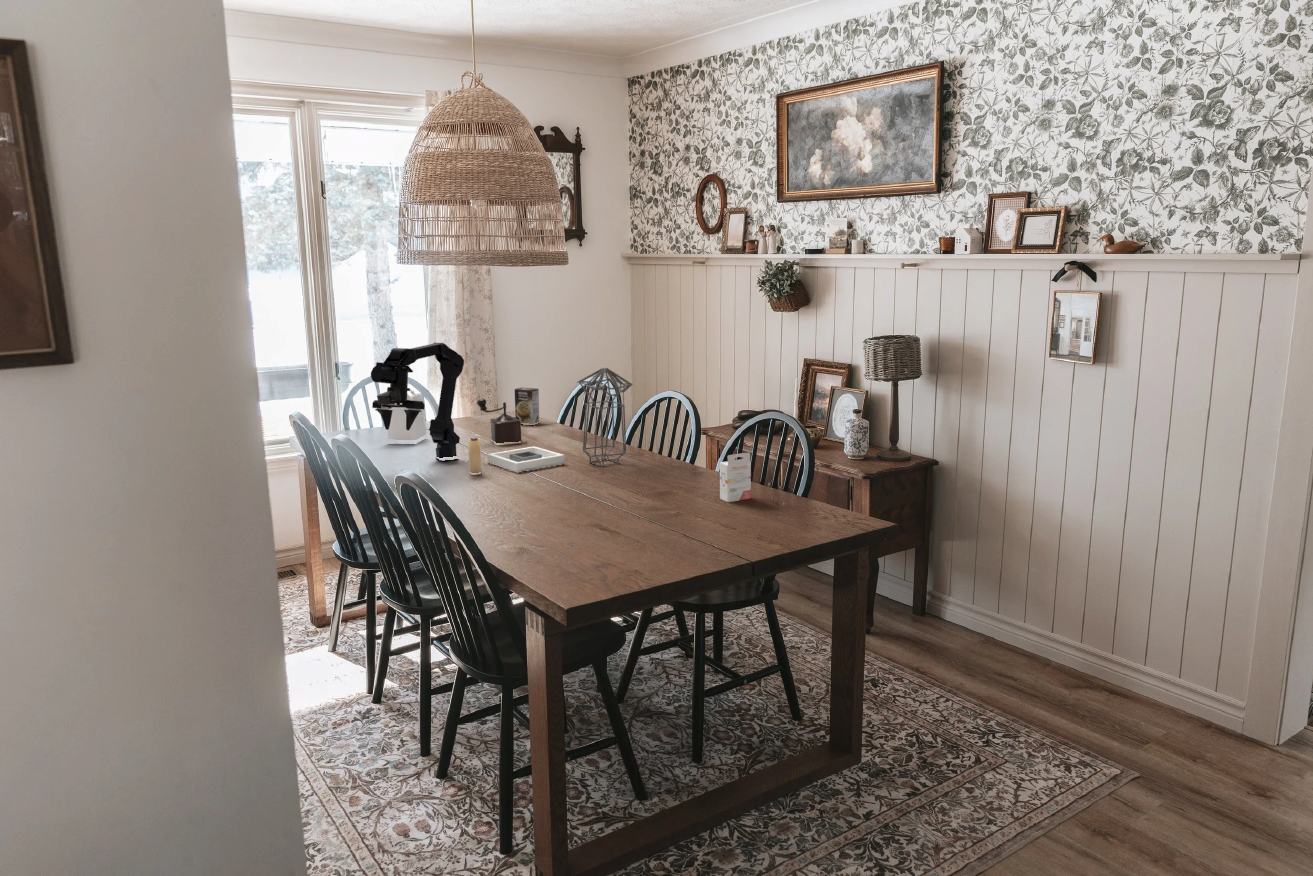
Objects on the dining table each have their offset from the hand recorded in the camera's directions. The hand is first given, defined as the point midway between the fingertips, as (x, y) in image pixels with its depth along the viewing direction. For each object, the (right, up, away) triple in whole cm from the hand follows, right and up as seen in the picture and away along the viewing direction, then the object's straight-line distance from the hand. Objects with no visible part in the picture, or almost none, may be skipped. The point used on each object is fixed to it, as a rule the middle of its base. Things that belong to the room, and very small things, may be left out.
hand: (397, 429), depth 313 cm
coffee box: (+32, +3, +92) cm, 98 cm away
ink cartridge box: (+114, -22, -32) cm, 120 cm away
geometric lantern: (+71, -12, +16) cm, 74 cm away
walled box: (+42, -12, +16) cm, 47 cm away
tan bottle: (+27, -15, +2) cm, 31 cm away
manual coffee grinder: (+26, -5, +53) cm, 59 cm away
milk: (-12, -4, +58) cm, 59 cm away
